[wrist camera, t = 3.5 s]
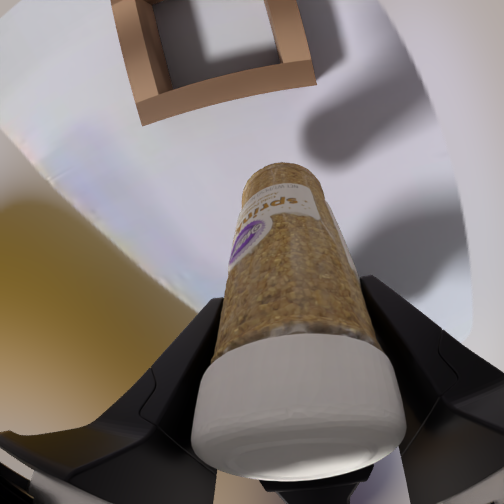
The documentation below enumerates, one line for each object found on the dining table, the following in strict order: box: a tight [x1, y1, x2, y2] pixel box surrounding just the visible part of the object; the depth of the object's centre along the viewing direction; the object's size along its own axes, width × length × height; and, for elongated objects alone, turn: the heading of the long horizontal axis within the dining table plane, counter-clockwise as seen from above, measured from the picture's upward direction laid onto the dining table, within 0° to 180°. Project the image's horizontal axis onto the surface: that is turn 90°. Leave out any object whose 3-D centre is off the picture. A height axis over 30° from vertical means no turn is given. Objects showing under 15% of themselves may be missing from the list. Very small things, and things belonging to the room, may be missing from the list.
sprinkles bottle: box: [191, 162, 407, 481], centre depth 10 cm, size 5×5×14 cm
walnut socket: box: [111, 0, 317, 126], centre depth 13 cm, size 10×10×3 cm
